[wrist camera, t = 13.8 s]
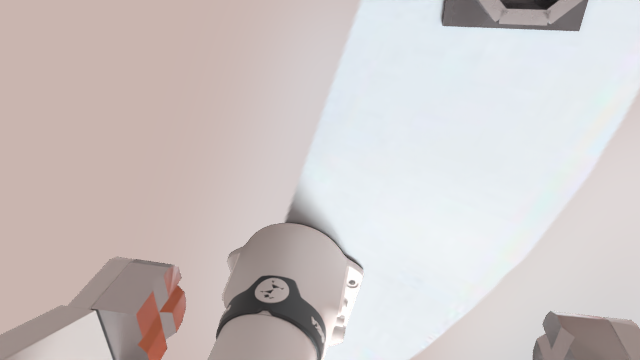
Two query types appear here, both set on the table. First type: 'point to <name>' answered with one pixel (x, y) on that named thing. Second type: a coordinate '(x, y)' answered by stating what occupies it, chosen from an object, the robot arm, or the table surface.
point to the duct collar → (516, 14)
